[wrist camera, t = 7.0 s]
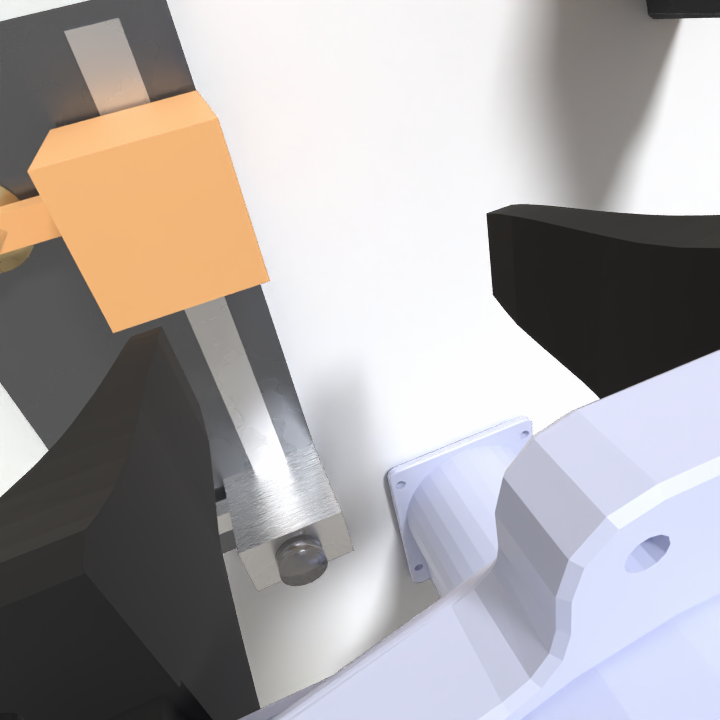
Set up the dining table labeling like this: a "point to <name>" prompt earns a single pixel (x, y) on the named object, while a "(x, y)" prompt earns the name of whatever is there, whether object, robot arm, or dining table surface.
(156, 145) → the orange block with rod
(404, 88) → the dining table surface
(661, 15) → the ammunition clip
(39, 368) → the bolt plate
